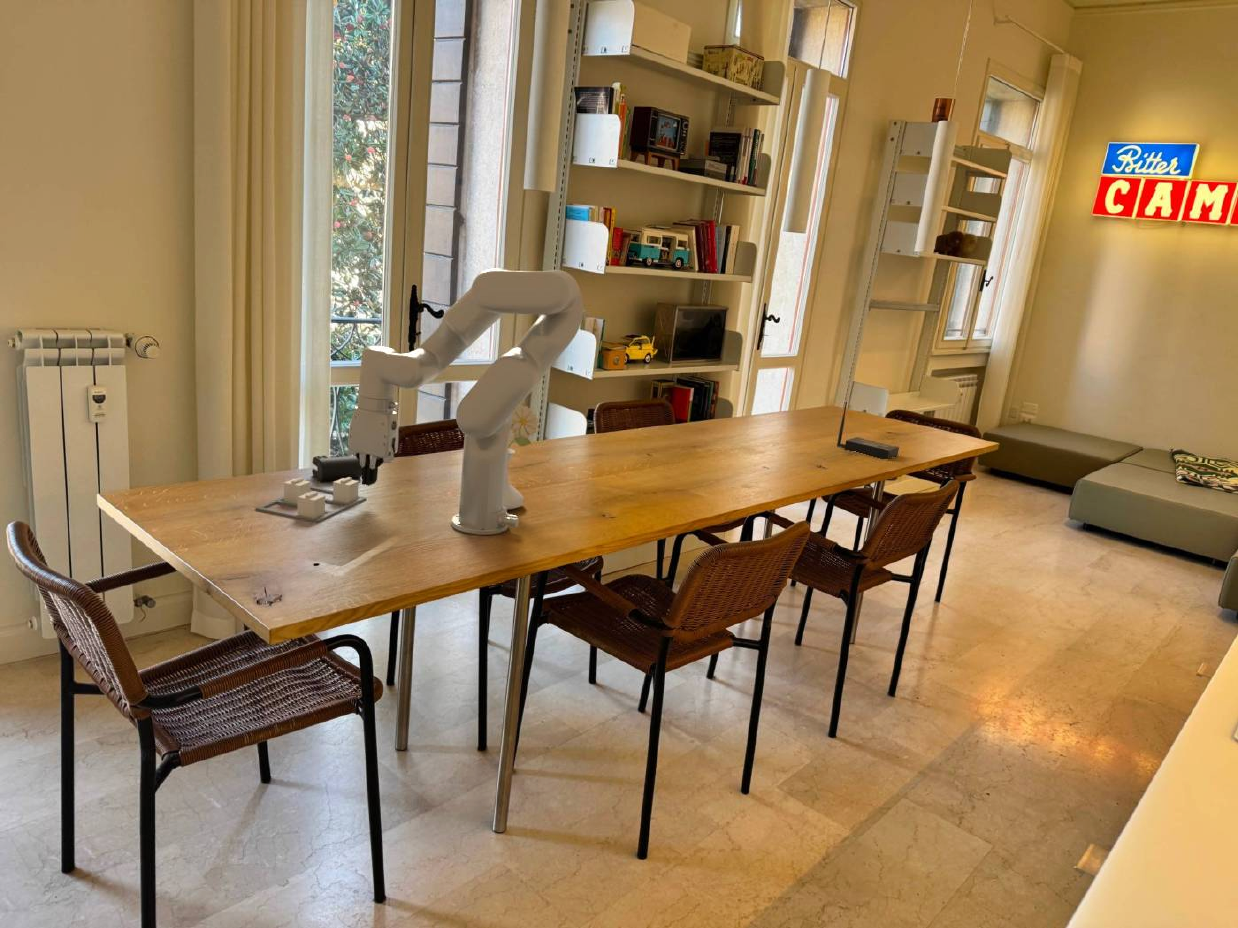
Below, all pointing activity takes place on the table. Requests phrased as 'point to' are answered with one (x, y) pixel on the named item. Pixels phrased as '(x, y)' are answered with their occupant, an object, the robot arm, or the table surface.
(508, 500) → the flower in vase
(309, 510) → the cream block
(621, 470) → the table surface
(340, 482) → the cream block with bar
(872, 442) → the wireless controller
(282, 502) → the switch bank
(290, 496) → the cream block with ridge
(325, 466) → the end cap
